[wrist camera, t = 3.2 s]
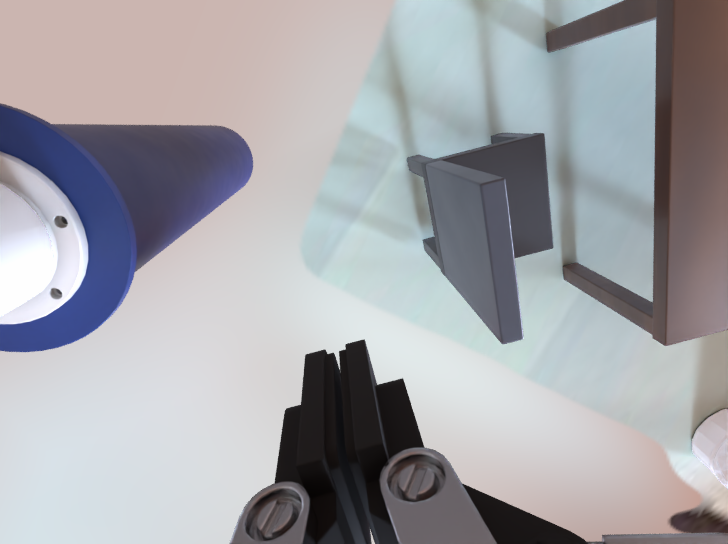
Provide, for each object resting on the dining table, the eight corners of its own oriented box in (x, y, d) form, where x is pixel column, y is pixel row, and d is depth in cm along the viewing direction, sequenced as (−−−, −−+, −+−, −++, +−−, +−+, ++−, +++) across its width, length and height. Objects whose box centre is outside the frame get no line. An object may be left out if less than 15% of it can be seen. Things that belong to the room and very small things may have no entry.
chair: (424, 251, 31) (502, 345, 17) (405, 157, 28) (479, 183, 15) (514, 227, 31) (659, 303, 18) (503, 131, 28) (662, 136, 15)
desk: (562, 280, 33) (665, 346, 23) (543, 31, 27) (674, -24, 17) (705, 243, 33) (868, 292, 23) (720, -14, 27) (952, -95, 17)
